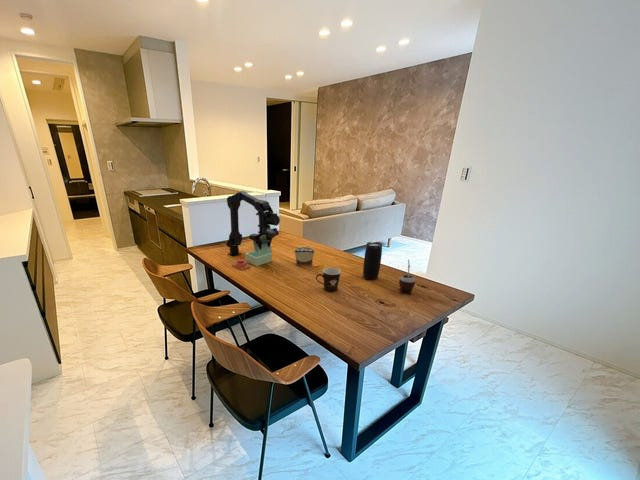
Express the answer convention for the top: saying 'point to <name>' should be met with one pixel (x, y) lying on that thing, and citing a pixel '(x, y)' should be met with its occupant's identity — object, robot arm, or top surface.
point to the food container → (304, 256)
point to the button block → (241, 265)
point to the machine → (258, 258)
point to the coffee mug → (330, 279)
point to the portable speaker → (372, 260)
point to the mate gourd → (407, 282)
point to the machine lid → (264, 249)
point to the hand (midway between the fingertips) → (264, 248)
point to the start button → (240, 261)
